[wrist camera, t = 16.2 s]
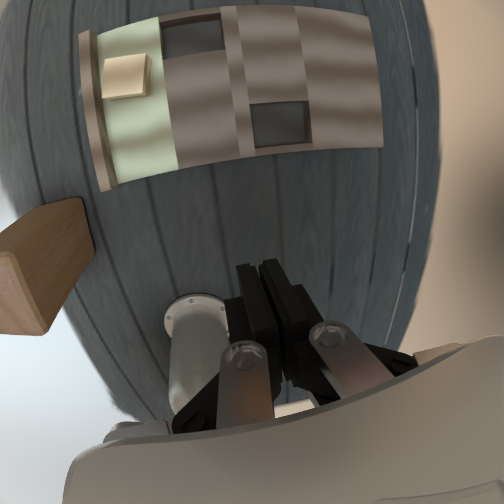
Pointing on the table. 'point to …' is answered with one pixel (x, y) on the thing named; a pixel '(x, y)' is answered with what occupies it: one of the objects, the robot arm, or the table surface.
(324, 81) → the board
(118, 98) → the birch block
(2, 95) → the table surface
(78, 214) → the block
